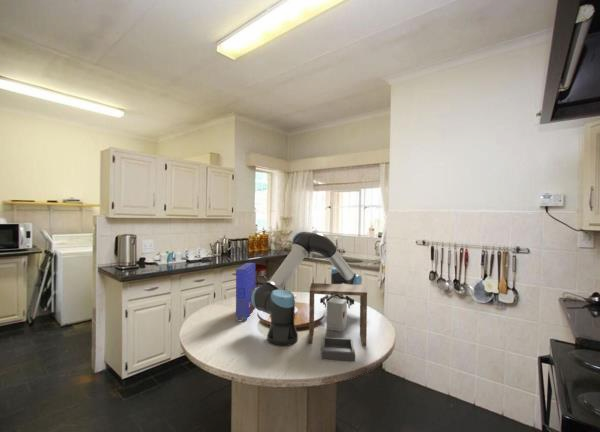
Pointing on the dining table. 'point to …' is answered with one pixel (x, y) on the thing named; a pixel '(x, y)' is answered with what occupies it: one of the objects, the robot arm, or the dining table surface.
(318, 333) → the dining table surface
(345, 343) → the tray
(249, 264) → the cereal box
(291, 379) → the dining table surface
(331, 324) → the supplement box
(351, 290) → the tunnel
